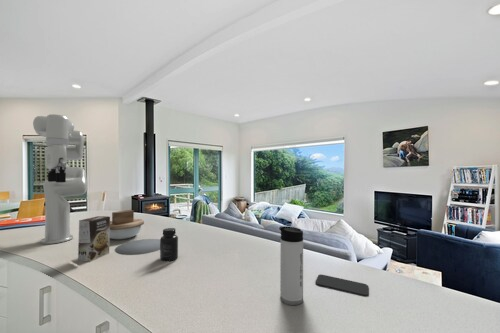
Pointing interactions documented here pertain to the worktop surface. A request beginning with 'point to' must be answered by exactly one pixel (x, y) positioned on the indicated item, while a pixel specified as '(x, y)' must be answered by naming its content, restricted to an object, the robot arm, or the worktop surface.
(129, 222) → the lid
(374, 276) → the worktop surface
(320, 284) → the phone
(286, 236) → the travel mug
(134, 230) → the cereal bowl
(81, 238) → the coffee box
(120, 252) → the tray
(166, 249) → the supplement bottle
